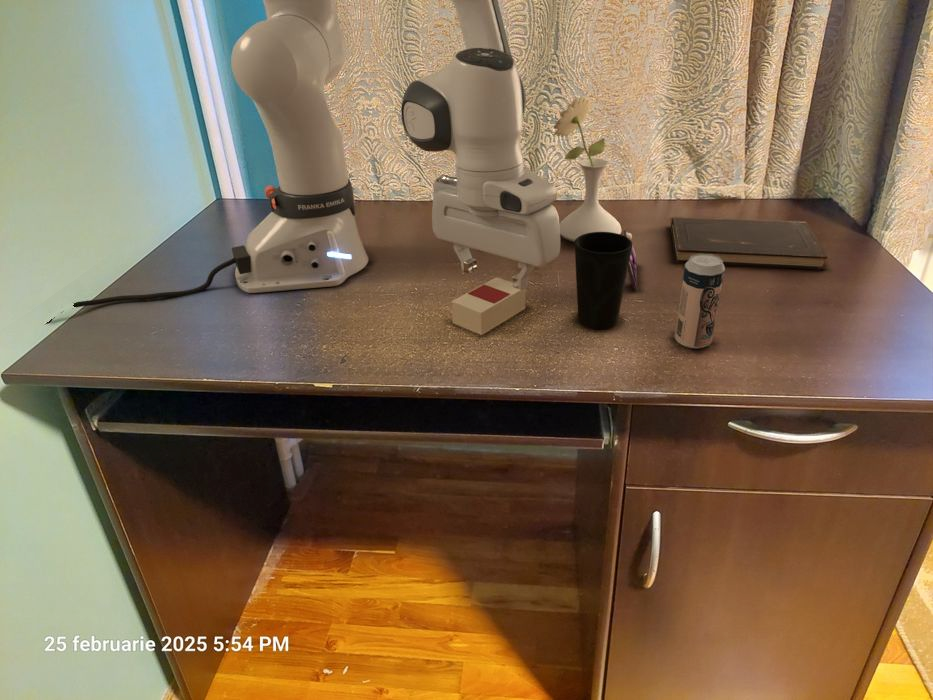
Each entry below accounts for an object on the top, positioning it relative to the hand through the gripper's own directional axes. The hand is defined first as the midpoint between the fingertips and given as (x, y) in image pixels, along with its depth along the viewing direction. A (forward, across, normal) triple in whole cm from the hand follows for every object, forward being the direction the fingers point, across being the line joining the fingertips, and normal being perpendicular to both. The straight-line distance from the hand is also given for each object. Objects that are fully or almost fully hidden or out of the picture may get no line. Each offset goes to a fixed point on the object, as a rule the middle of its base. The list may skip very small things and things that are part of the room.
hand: (494, 279), depth 95 cm
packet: (+6, -1, -1) cm, 6 cm away
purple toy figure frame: (+6, +8, +22) cm, 24 cm away
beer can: (+7, +26, +10) cm, 28 cm away
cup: (+6, +12, +8) cm, 16 cm away
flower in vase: (+6, -5, +32) cm, 34 cm away
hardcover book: (+7, +19, +45) cm, 49 cm away
